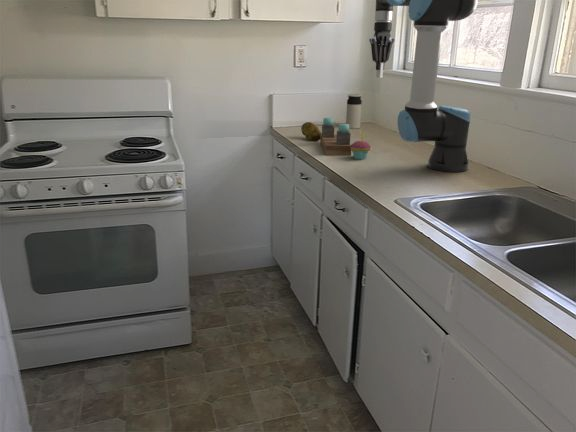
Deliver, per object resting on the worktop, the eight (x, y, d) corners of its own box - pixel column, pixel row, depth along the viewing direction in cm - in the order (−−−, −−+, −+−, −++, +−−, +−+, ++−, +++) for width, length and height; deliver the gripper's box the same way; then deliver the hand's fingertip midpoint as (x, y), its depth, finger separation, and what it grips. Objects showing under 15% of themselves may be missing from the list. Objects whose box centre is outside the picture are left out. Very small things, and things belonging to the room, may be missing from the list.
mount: (351, 155, 206) (352, 134, 203) (325, 155, 206) (326, 134, 202) (343, 142, 230) (343, 123, 227) (320, 142, 230) (320, 123, 227)
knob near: (349, 143, 207) (350, 125, 204) (338, 143, 207) (339, 125, 204) (347, 141, 211) (348, 123, 208) (337, 141, 211) (337, 123, 208)
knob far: (333, 136, 222) (334, 119, 219) (323, 136, 222) (324, 119, 219) (332, 134, 226) (332, 117, 223) (322, 134, 226) (323, 117, 223)
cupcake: (354, 154, 207) (356, 127, 203) (373, 157, 203) (375, 128, 199) (346, 158, 200) (347, 130, 196) (365, 161, 196) (367, 132, 192)
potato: (306, 142, 230) (307, 125, 228) (299, 137, 242) (299, 121, 239) (323, 141, 232) (323, 125, 230) (315, 136, 244) (315, 120, 241)
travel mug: (361, 128, 266) (363, 95, 260) (347, 129, 265) (349, 95, 258) (357, 126, 273) (359, 94, 267) (344, 126, 272) (345, 94, 266)
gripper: (388, 22, 217) (384, 76, 225) (366, 21, 211) (362, 77, 219) (400, 21, 211) (395, 77, 219) (377, 21, 205) (373, 78, 213)
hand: (379, 77), depth 219 cm, fingers closed
